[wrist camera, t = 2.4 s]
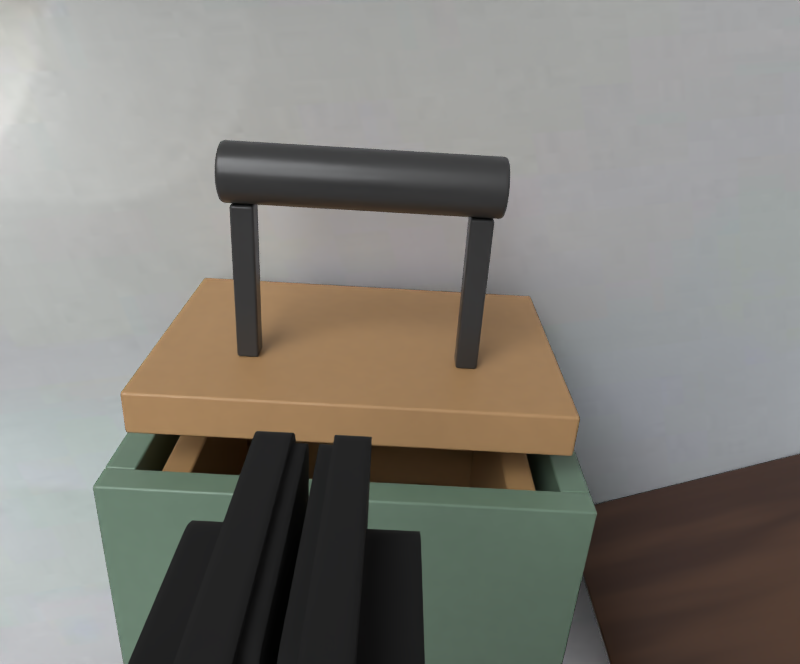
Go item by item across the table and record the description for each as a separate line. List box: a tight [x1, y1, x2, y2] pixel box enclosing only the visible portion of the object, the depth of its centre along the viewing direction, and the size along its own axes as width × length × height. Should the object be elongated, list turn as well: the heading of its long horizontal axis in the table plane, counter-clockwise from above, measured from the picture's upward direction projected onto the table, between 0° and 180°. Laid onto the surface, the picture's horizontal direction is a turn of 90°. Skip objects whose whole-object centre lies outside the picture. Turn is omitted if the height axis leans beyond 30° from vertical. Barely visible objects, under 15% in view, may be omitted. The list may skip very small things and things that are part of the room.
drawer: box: [121, 140, 580, 491], centre depth 22 cm, size 19×11×8 cm, turn 177°
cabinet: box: [93, 432, 597, 664], centre depth 25 cm, size 15×13×10 cm
